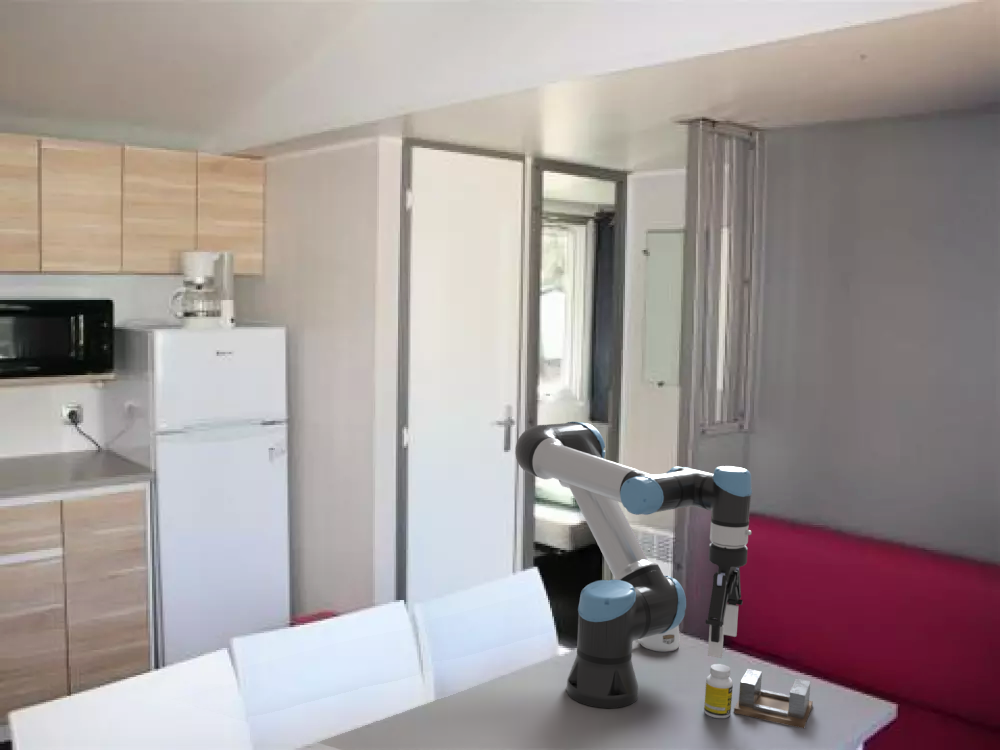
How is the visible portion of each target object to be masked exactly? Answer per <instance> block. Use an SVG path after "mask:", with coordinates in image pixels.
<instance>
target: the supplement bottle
mask: <svg viewBox="0 0 1000 750" xmlns="http://www.w3.org/2000/svg"><path fill="white" fill-rule="evenodd" d="M709 672H710V673H709V675H707V677H706V679H705V691H704V692H705V693H704V703H703V711H704V714H706V715H707V716H709V717H711V718H715V719H727V718H729V717H730V715H731V714H732V713H731V710H732V699H733V688H734V687H733V685H734V683H733V680H732V678H731V667H729V666H728V665H725V664H723V663H714V664H711V665H710V670H709Z"/></svg>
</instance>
